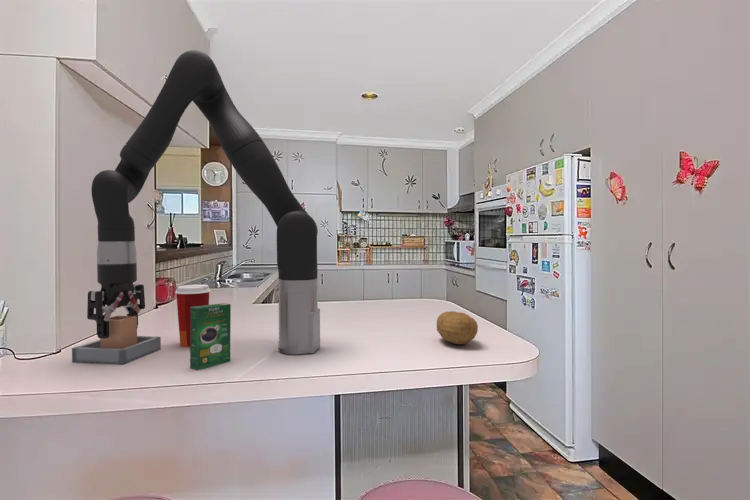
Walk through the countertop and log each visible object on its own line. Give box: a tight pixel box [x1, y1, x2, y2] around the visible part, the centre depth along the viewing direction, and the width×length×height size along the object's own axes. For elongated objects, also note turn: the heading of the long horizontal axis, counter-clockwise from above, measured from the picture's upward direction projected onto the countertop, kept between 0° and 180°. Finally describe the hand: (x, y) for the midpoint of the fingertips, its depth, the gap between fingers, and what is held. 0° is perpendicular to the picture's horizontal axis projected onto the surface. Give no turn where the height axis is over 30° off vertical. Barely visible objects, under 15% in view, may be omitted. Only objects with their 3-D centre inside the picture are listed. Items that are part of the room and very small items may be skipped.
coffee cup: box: [174, 284, 212, 348], centre depth 103 cm, size 8×8×15 cm
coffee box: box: [189, 302, 232, 371], centre depth 86 cm, size 8×3×13 cm, turn 144°
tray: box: [71, 335, 162, 366], centre depth 93 cm, size 12×12×4 cm
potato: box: [436, 310, 479, 345], centre depth 106 cm, size 10×14×8 cm
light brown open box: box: [99, 315, 138, 349], centre depth 93 cm, size 5×5×8 cm
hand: (118, 333), depth 92 cm, fingers open, 8 cm apart
